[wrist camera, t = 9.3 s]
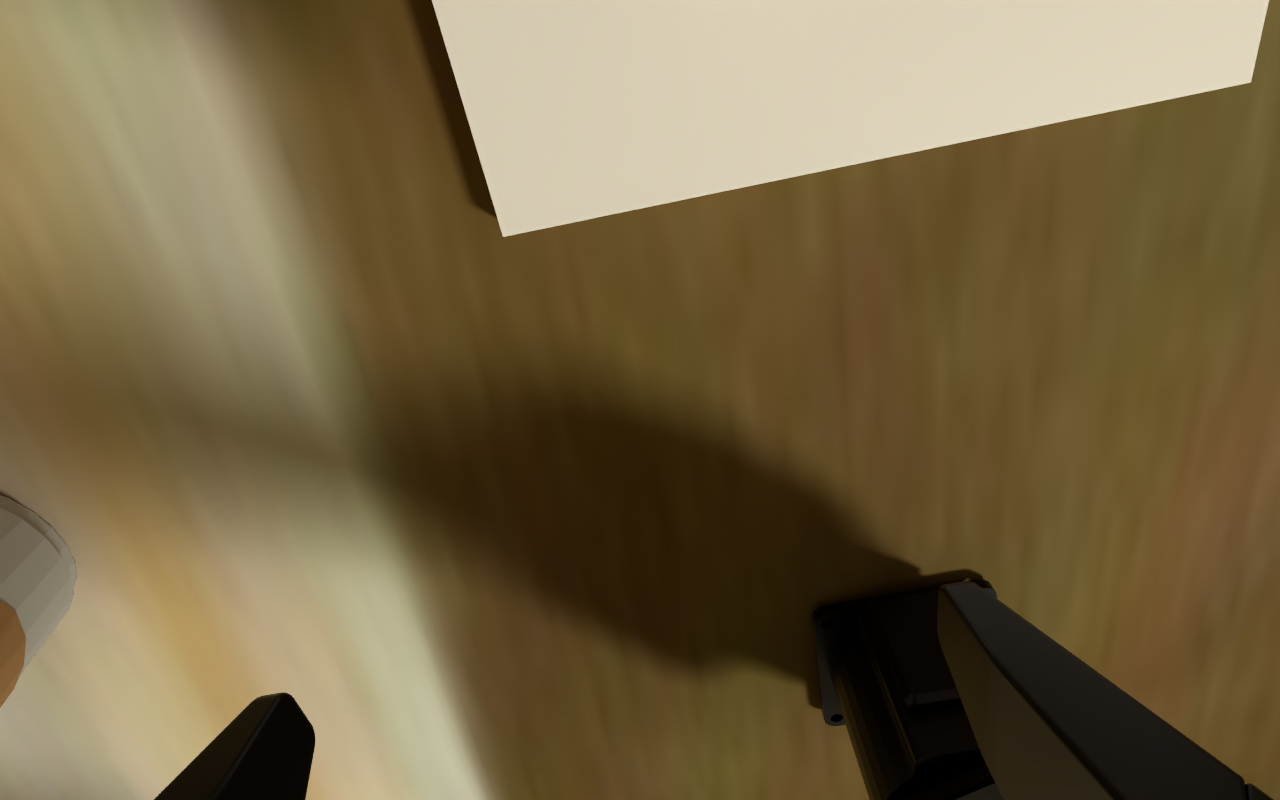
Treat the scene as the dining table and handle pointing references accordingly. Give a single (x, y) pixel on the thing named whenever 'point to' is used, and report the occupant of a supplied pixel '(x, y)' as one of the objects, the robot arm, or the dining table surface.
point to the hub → (797, 85)
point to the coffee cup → (29, 588)
